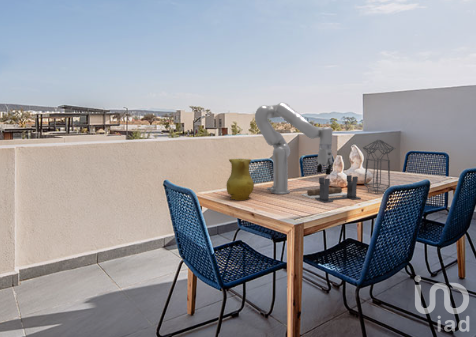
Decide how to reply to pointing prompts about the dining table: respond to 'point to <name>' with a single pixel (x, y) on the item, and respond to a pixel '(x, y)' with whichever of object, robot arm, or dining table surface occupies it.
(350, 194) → the rack
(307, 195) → the mat
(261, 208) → the dining table surface
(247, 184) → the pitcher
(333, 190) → the rod
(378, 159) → the geometric lantern
